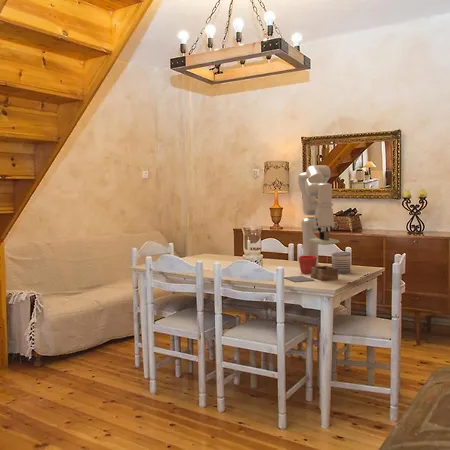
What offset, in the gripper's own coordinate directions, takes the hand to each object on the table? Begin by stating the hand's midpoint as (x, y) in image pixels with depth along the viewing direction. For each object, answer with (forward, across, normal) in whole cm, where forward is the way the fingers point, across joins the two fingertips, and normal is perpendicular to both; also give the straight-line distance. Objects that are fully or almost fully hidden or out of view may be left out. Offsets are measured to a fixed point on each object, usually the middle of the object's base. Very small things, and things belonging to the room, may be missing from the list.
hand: (324, 238), depth 288 cm
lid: (+2, 0, 0) cm, 2 cm away
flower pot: (+23, -1, -19) cm, 30 cm away
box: (+22, 0, +1) cm, 22 cm away
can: (+23, -19, -11) cm, 32 cm away
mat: (+22, +14, -3) cm, 27 cm away
